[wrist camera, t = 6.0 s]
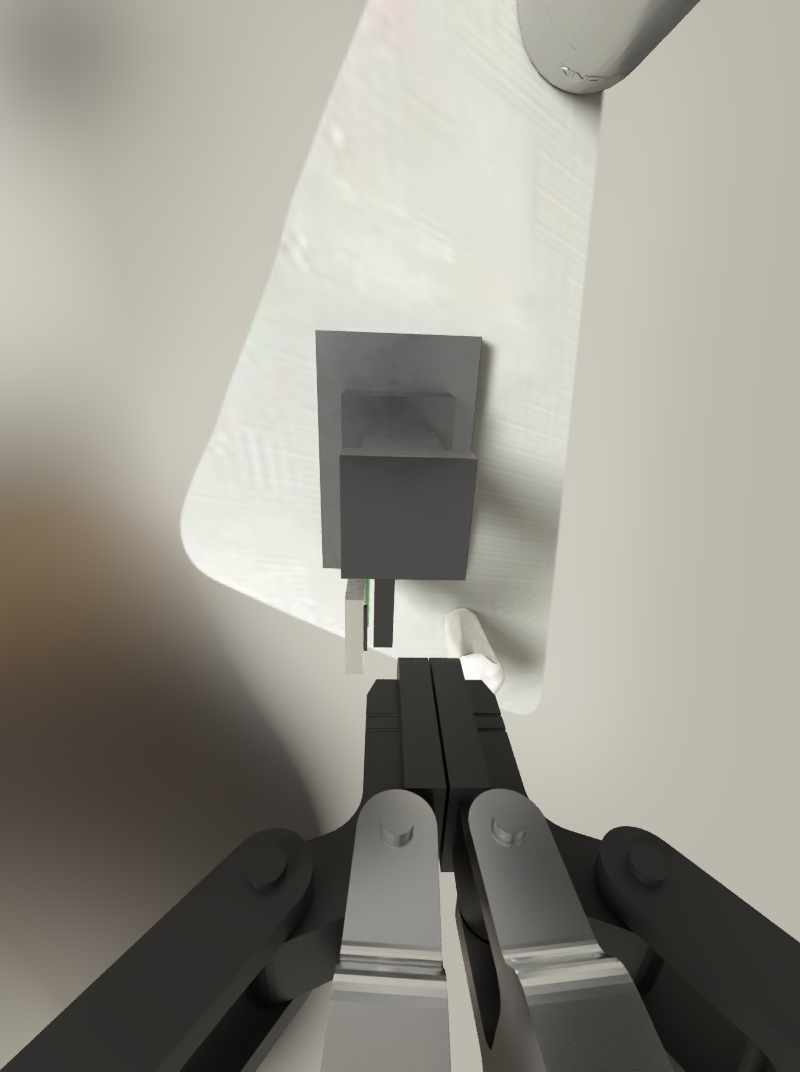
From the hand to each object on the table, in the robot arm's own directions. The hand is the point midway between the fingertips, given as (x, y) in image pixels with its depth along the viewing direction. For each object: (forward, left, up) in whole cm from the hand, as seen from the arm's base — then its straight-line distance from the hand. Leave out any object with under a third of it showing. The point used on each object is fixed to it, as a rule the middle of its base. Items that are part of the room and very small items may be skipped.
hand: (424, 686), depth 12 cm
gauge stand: (+1, 0, -29) cm, 29 cm away
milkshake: (+17, +7, -29) cm, 34 cm away
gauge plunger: (+2, 0, -22) cm, 22 cm away
